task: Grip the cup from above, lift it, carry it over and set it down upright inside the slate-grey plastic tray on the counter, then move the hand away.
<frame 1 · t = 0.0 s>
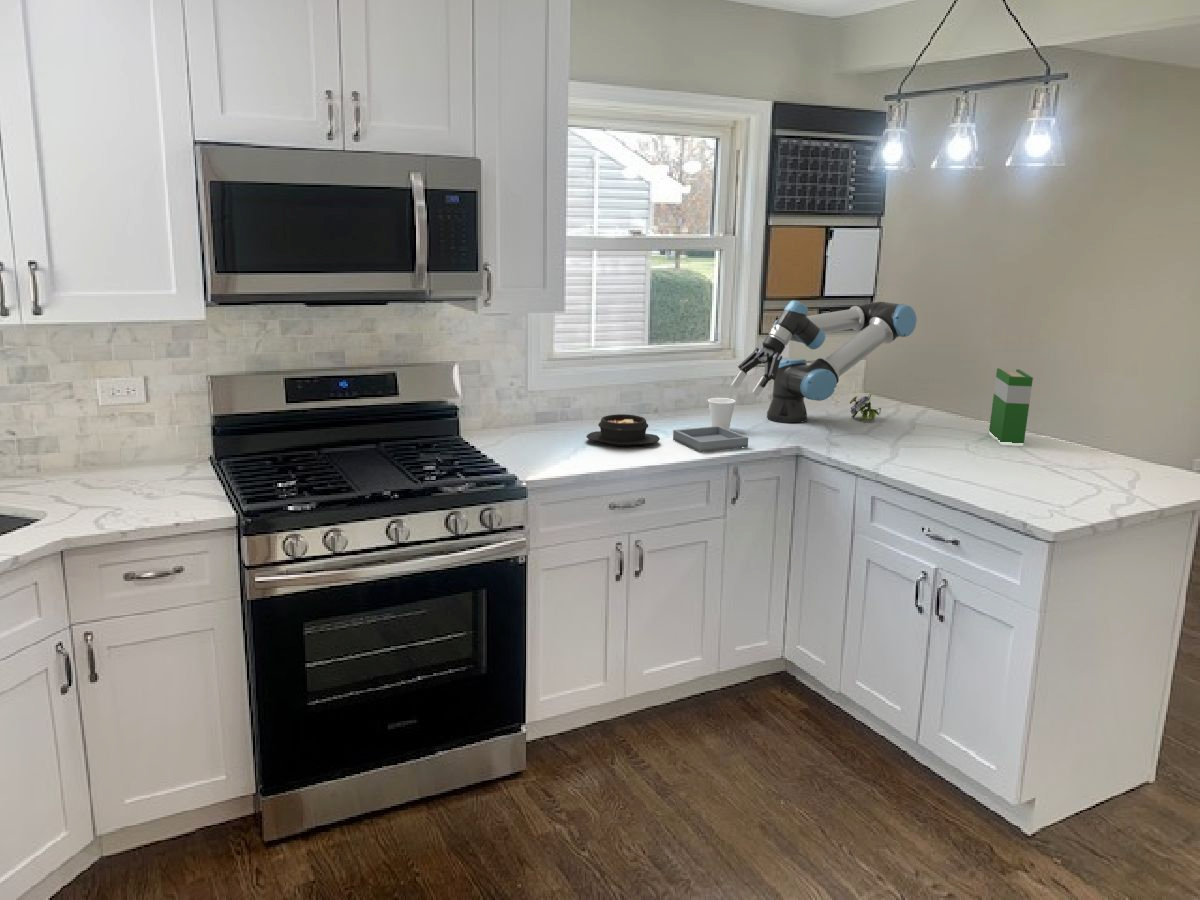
hand: (744, 390, 317), 15 cm above the countertop, tool tilted 35°, fingers open, 13 cm apart
tray: (709, 443, 305), on the countertop
cup: (720, 430, 325), on the countertop
passion flower: (863, 420, 346), on the countertop
casserole: (622, 443, 305), on the countertop
hardback book: (1005, 440, 316), on the countertop
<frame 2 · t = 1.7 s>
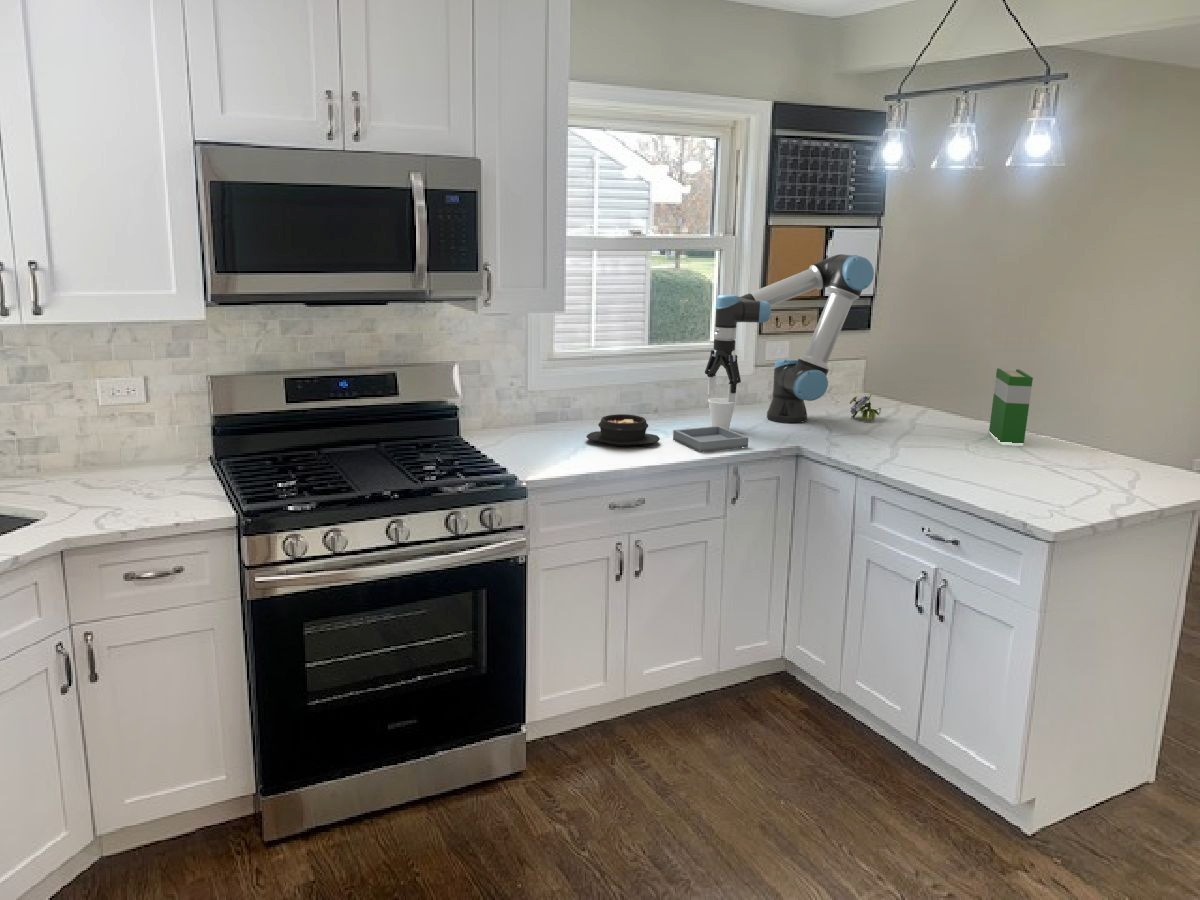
hand: (720, 398, 321), 12 cm above the countertop, tool pointing down, fingers open, 13 cm apart
nothing on the countertop moved.
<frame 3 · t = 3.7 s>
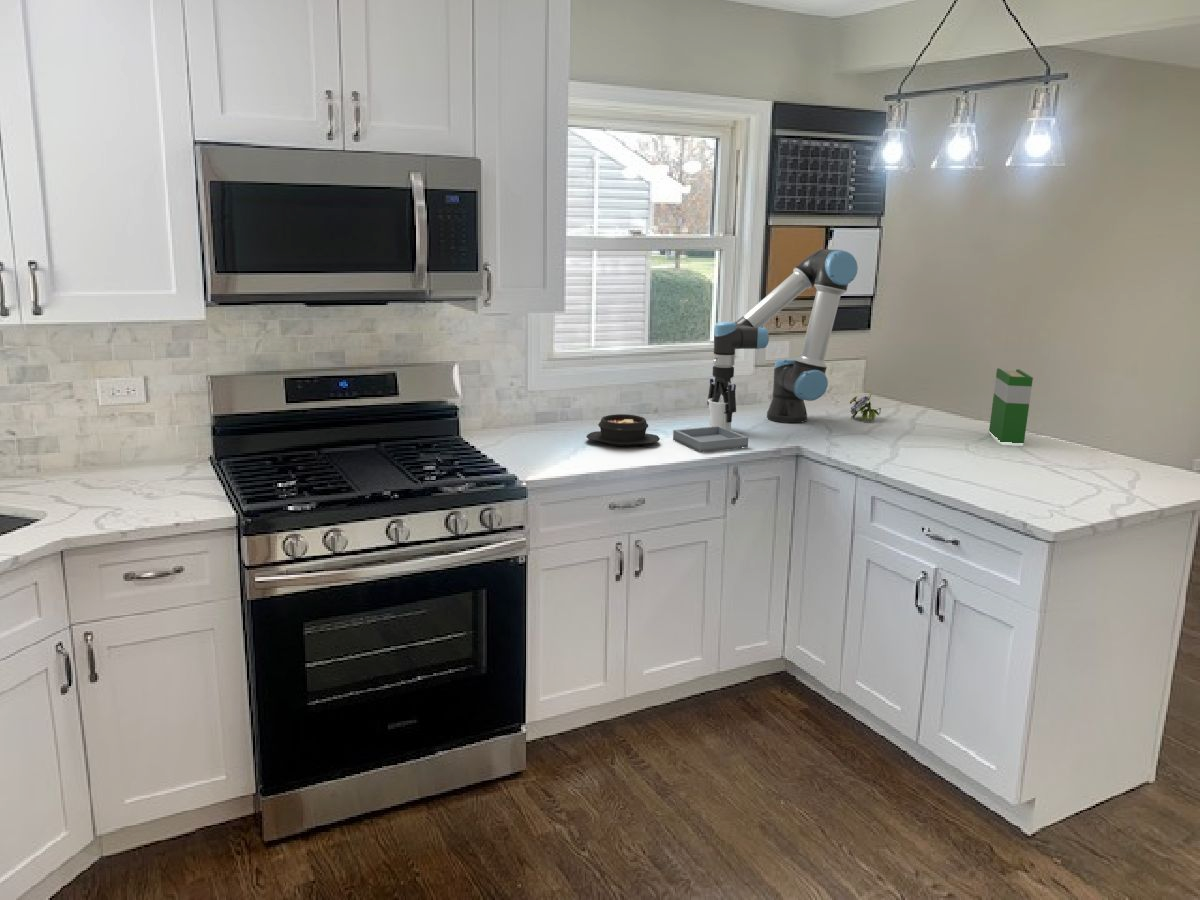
hand: (720, 427, 324), 1 cm above the countertop, tool pointing down, fingers closed on cup, 8 cm apart
cup: (720, 430, 324), on the countertop, touching gripper
everything else where it was.
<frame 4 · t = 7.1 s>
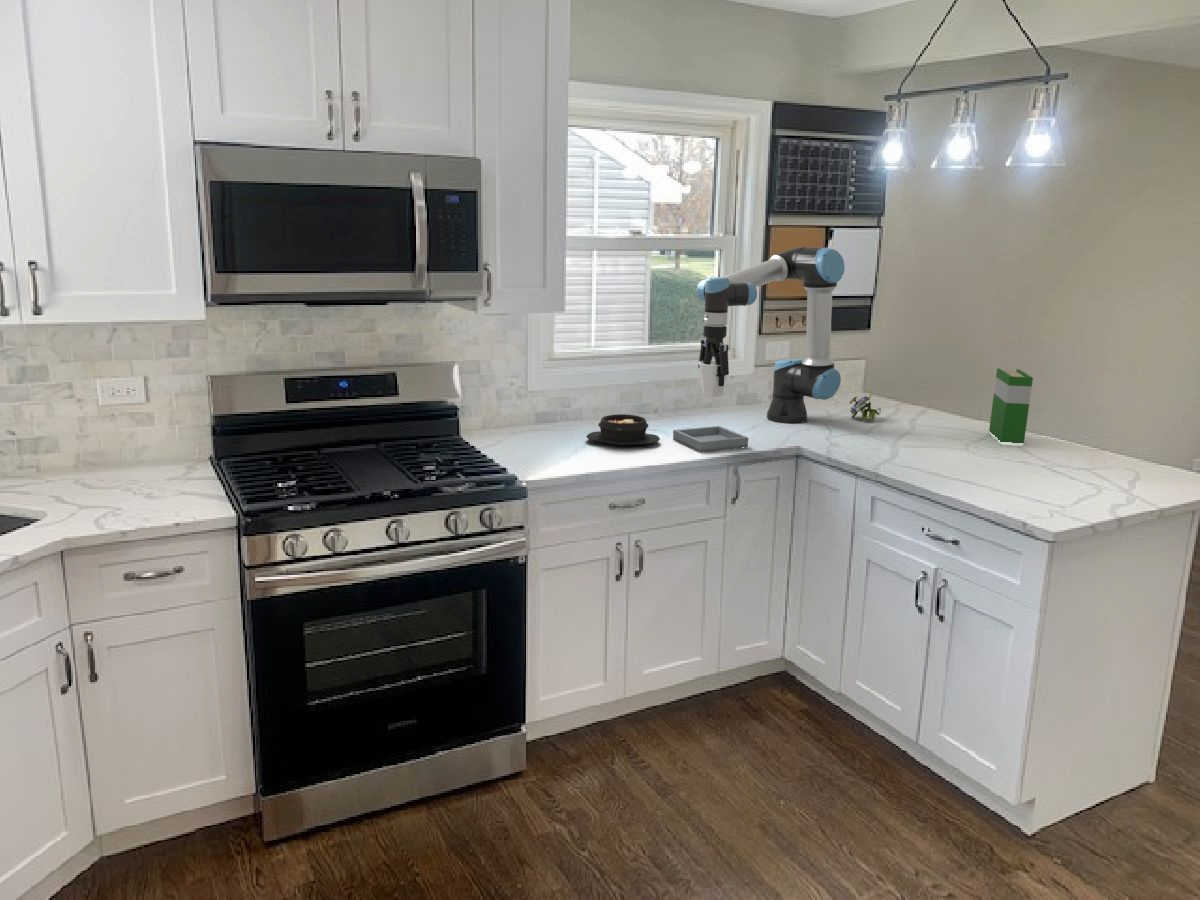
hand: (712, 392, 301), 17 cm above the countertop, tool pointing down, fingers closed on cup, 8 cm apart
cup: (711, 395, 301), point 16 cm above the countertop, touching gripper
everything else where it was.
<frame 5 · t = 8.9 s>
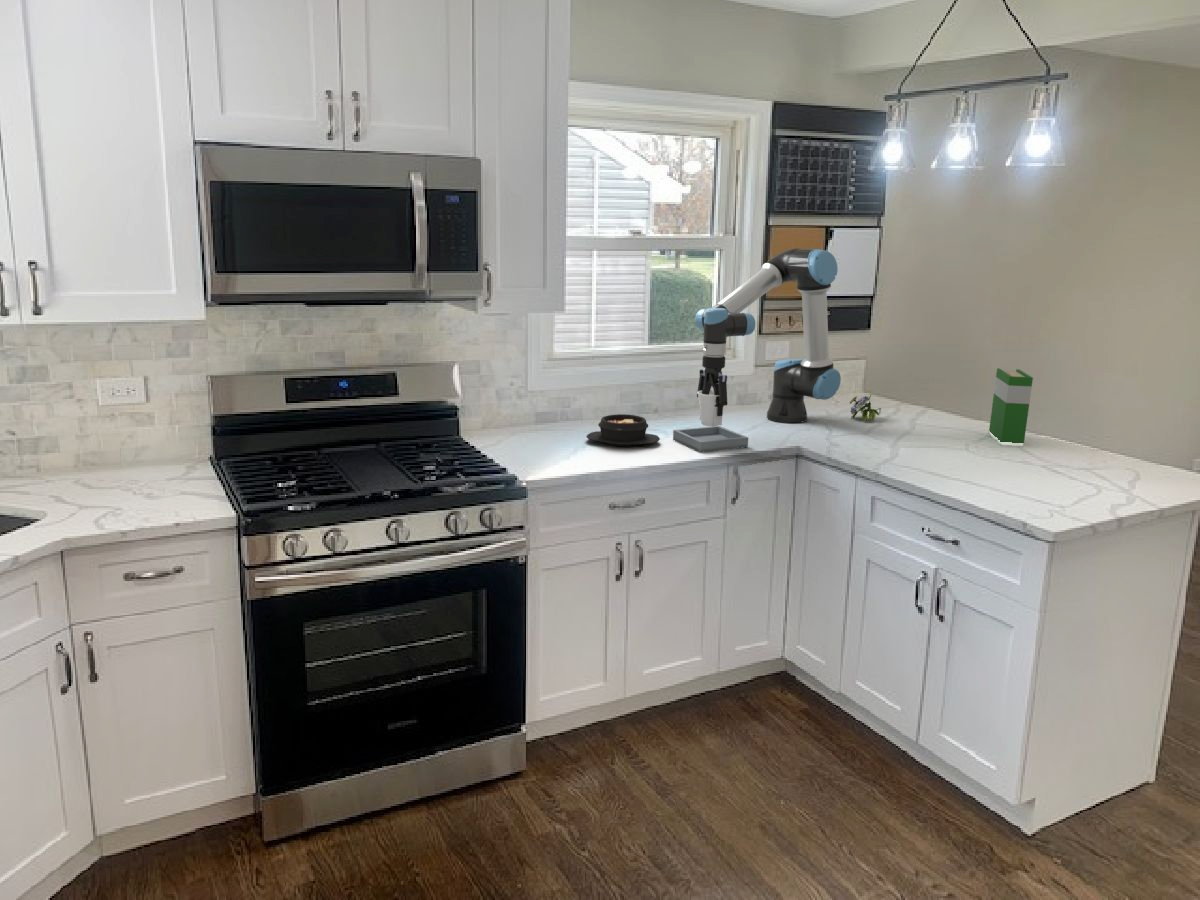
hand: (710, 422, 303), 7 cm above the countertop, tool pointing down, fingers closed on cup, 8 cm apart
cup: (710, 425, 303), point 6 cm above the countertop, touching gripper
everything else where it was.
when the fingers open (4 cm above the countertop, at t = 10.5 s): cup drops 2 cm, resting on tray.
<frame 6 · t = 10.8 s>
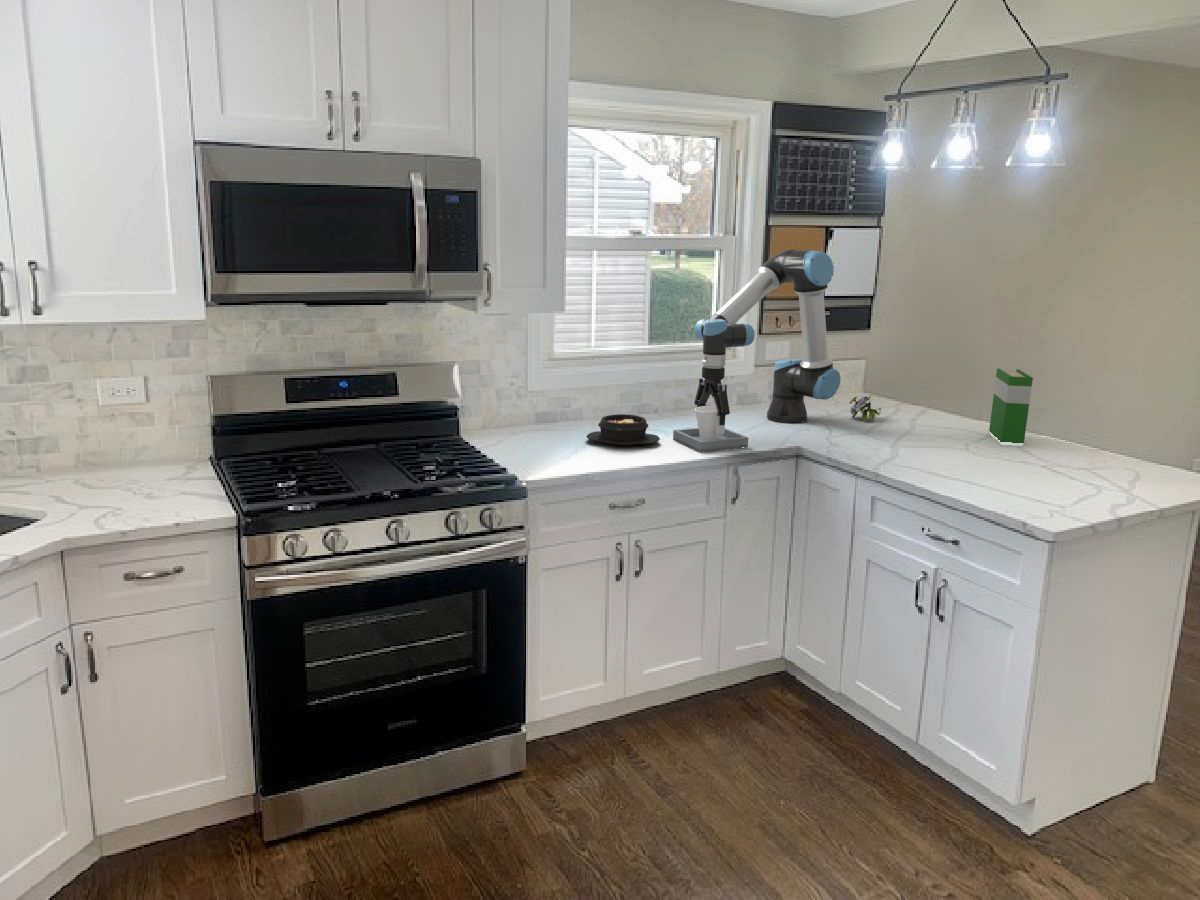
hand: (710, 430, 304), 5 cm above the countertop, tool pointing down, fingers open, 11 cm apart
cup: (709, 440, 304), point 1 cm above the countertop, touching tray
everything else where it was.
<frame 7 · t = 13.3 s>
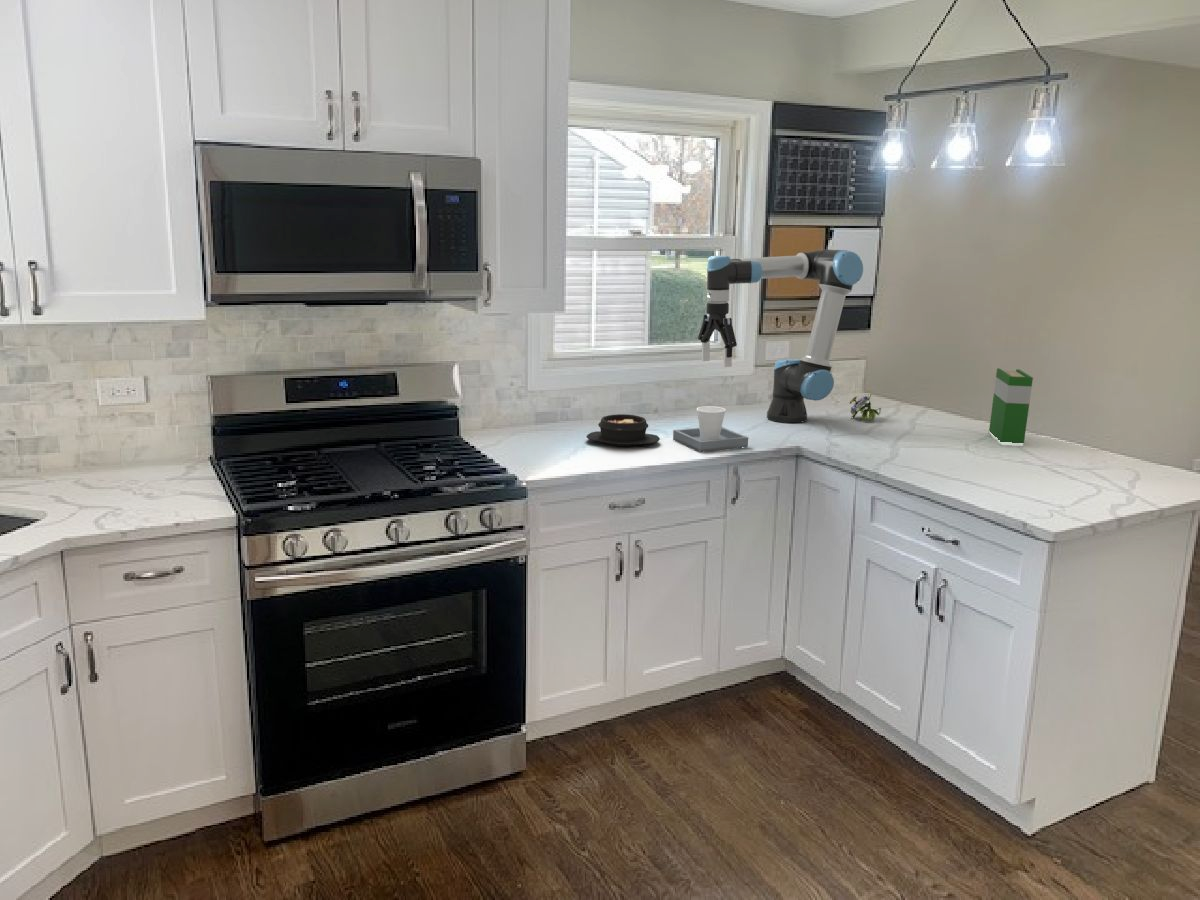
hand: (716, 363, 312), 25 cm above the countertop, tool pointing down, fingers open, 13 cm apart
nothing on the countertop moved.
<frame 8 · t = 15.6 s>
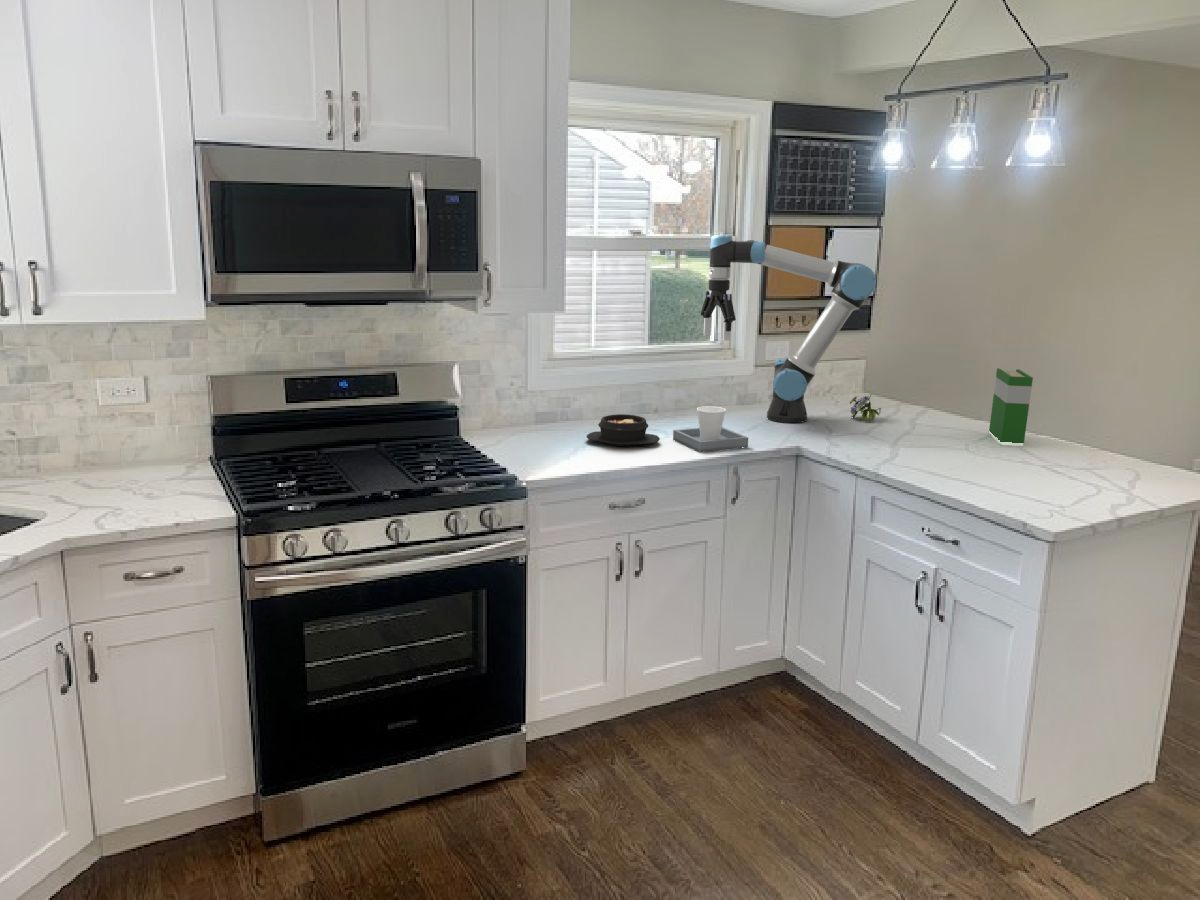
hand: (716, 338, 329), 32 cm above the countertop, tool pointing down, fingers open, 13 cm apart
nothing on the countertop moved.
at the end: cup inside the target area on the tray (0.1 cm from its centre), point 0.8 cm above the tray's base; cup tilted 0°; the gripper is holding nothing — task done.
